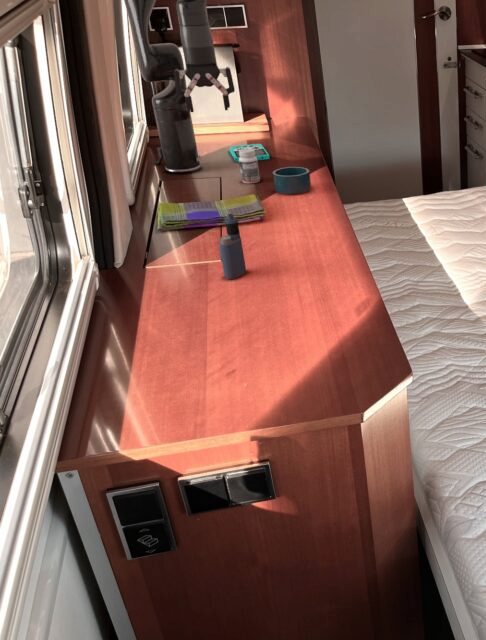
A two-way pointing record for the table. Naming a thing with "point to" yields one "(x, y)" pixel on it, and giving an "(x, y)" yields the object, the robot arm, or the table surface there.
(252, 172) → the pill bottle
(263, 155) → the handheld game console
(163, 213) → the dish towel
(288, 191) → the bowl
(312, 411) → the table surface
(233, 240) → the vaping device
